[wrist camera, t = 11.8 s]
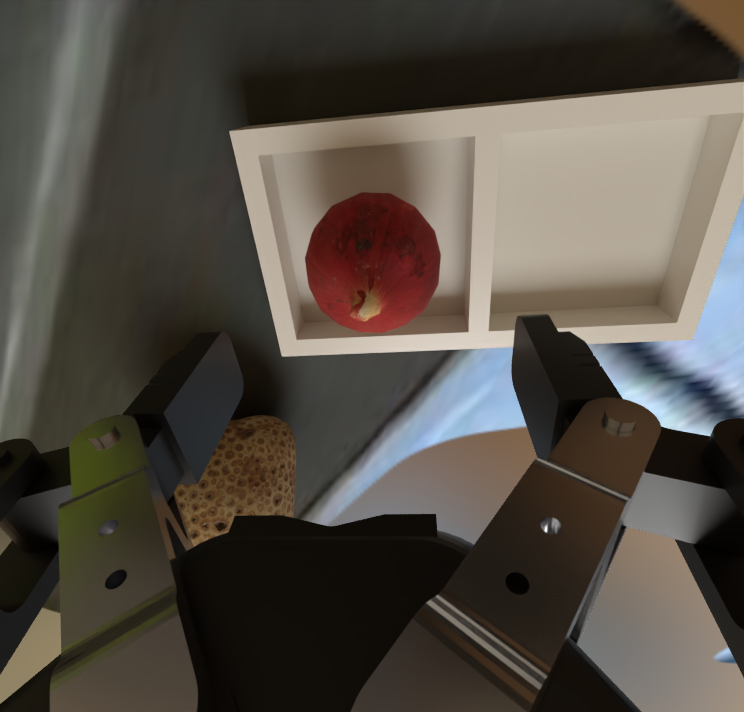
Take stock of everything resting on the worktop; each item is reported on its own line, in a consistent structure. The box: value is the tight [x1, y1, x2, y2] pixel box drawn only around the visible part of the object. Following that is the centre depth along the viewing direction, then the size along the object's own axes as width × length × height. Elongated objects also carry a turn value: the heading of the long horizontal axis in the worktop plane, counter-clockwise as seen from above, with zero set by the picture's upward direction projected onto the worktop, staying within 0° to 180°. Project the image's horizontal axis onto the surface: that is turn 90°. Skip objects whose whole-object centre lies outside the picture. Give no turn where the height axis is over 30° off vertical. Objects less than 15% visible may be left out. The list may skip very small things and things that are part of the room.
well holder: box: [229, 78, 744, 357], centre depth 21 cm, size 11×21×3 cm, turn 95°
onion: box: [305, 192, 441, 333], centre depth 18 cm, size 6×6×8 cm
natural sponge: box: [174, 415, 296, 546], centre depth 26 cm, size 9×9×10 cm
